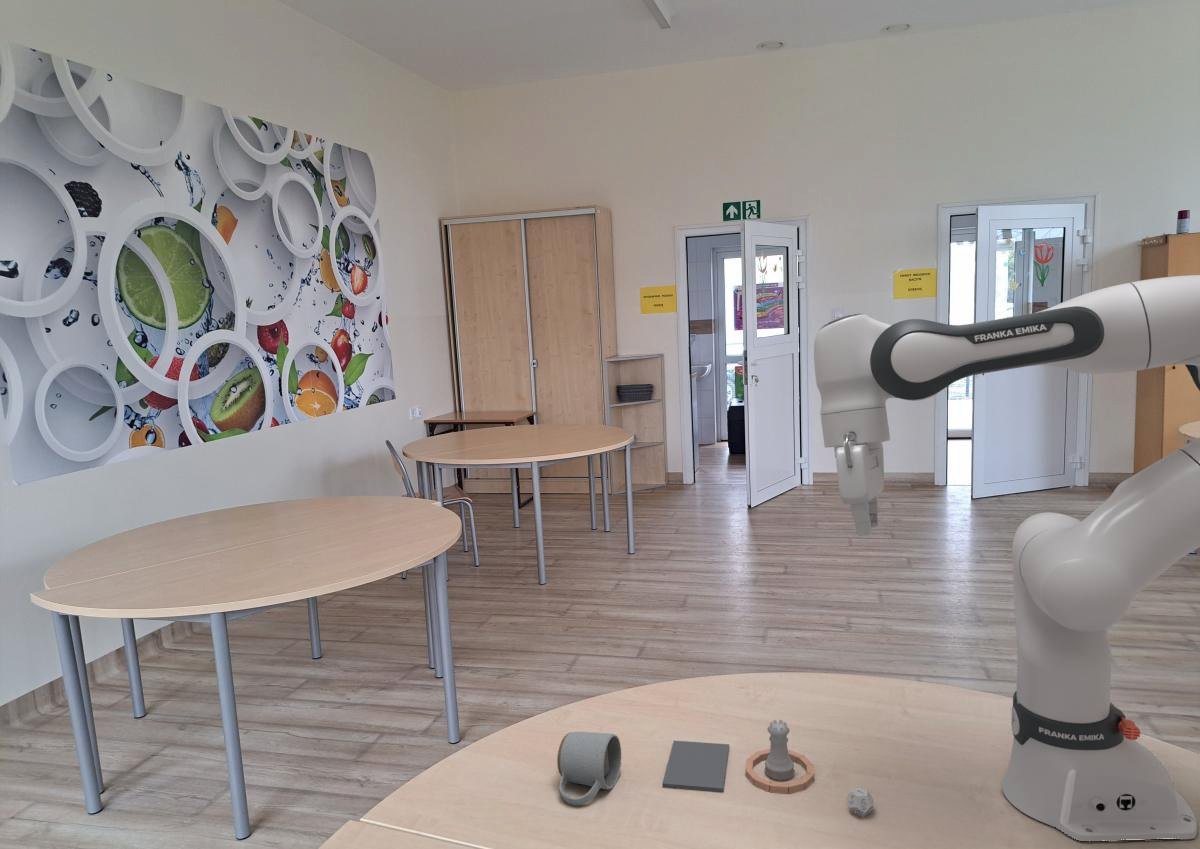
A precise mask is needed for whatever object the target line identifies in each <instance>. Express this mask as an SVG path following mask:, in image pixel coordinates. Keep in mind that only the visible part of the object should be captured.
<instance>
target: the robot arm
mask: <svg viewBox="0 0 1200 849" xmlns="http://www.w3.org/2000/svg"><path fill="white" fill-rule="evenodd" d="M817 331H818V332H817V333H816V334H815V337H814V342H813V362H814V374H815V383H816V387H817V389H818V391H819V395H820V399H821V405H820V412H819V413H820V422H821V428H822V437H823V445H824V448H828V449H829V448H833V450H834V458H835V460H836V462H835V463H836V472H837V481H838V490H839V491H838V492H839V498H840V501H841V503H842V505H850V511H851V515H852V518H853V522H854V524H855V531H856V535H857V536H859V537H864V536H866V537H867V536H870V535H871V533H872V528H876V527H878V526H879V524H880V521H879V499H878V498H879V497H878V495H880V494H881V493H882V492H883V491H884V487H885V465H884V446H883V443H884V442H887V441H891V434H890V428H889V421H888V414H887V407H886V402H887V400H888V399H901V400H905V401H912V402H913V401H915V402H916V401H924V400H927V399H930V398H932V397H934V396H936V395H937V394H939V393H940V392H941V391H943V390H945V389H946V388H948V387H949V386H951V385H952V384H954V383H955V382H957V381H959V380H962V379H965V378H969V377H972V376H976V375H983V374H988V373H996V372H1002V371H1007V370H1012V369H1013V370H1014V369H1020V368H1026V367H1035V366H1036V367H1037V366H1051V367H1052V366H1053V367H1060V368H1063V369H1067V370H1070V371H1072V372H1075V373H1078V374H1087V375H1089V374H1092V375H1093V374H1095V375H1097V374H1098V375H1102V374H1121V373H1122V374H1123V373H1130V372H1137V371H1142V370H1149V369H1156V368H1161V367H1165V366H1173V365H1174V366H1175V365H1184V367H1185V368H1186V370H1187V371H1188V372H1189V375H1190V376H1191V378H1192V381H1193V382H1194V384H1195V387H1196V388H1197V389H1198V390H1199V392H1200V274H1197V275H1196V274H1194V275H1193V274H1189V275H1188V274H1187V275H1175V276H1166V277H1165V276H1164V277H1157V278H1150V279H1143V280H1136V281H1132V282H1128V283H1127V282H1126V283H1125V282H1124V283H1121V284H1117V285H1113V286H1112V285H1111V286H1107V287H1105V288H1099V289H1097V290H1092V291H1090V292H1087V293H1084V294H1082V295H1081V294H1080V295H1078V296H1076V297H1073V298H1071V299H1068V300H1065V301H1063V302H1061V303H1058V304H1056V305H1053V306H1050V307H1049V308H1046V309H1042V310H1040V311H1036V312H1033V313H1027V314H1021V315H1016V316H1015V315H1014V316H1009V317H1004V318H998V319H992V320H986V321H979V322H974V323H969V324H948V323H947V324H946V323H942V322H938V321H933V320H928V319H920V318H911V319H905V320H902V321H898V322H896V323H894V324H889V323H885V322H883V321H880V320H878V319H875V318H872V317H871V316H869V315H868V314H865V313H854V314H849V315H845V316H842V317H839V318H837V319H834V320H830V322H828V323H826V324H824V325H823V326H821V328H819V330H817ZM1197 549H1200V437H1197V438H1196V439H1194V440H1191V441H1190V442H1188V443H1187V444H1184V445H1183V446H1181V447H1180V448H1178V449H1176V450H1174V451H1173V452H1170V453H1169V454H1167V455H1165V456H1164V457H1163V458H1160V459H1159V460H1157V461H1155V462H1154V463H1151V464H1150V465H1148V466H1147V467H1146V468H1144V469H1142V470H1140V471H1138V472H1137V473H1135V474H1134V475H1132V476H1130V477H1128V478H1127V479H1125V480H1124V481H1122V482H1120V483H1119V484H1118V485H1117V486H1116V487H1115V488H1114V491H1113V492H1112V493H1111V495H1110V496H1109V497H1108V498H1106V500H1105V501H1104V502H1103V503H1102V504H1100V506H1098V507H1097V508H1096V509H1095V510H1094V511H1092V512H1091V513H1090V514H1089V515H1088V516H1087V517H1086V518H1084V519H1083V520H1082V521H1081V520H1080V519H1078V518H1075V517H1072V516H1069V515H1067V514H1064V513H1058V512H1050V511H1049V512H1048V511H1047V512H1040V513H1039V512H1038V513H1036V514H1034V515H1031V516H1029V517H1027V518H1026V519H1025V520H1023V522H1021V524H1019V525H1018V527H1017V529H1016V531H1015V533H1014V536H1013V541H1012V548H1011V552H1012V553H1011V554H1012V555H1011V556H1012V557H1011V558H1012V586H1013V602H1014V604H1013V605H1014V616H1015V617H1014V618H1015V628H1016V629H1015V630H1016V691H1014V693H1013V694H1012V695H1013V696H1012V707H1011V732H1012V735H1013V741H1012V742H1013V743H1012V747H1011V754H1010V756H1009V757H1010V758H1009V762H1008V766H1007V769H1006V772H1005V775H1004V777H1003V780H1002V782H1001V787H1002V788H1001V790H1002V793H1003V794H1004V796H1005V798H1006V799H1007V800H1008V801H1009V803H1011V804H1012V805H1013V806H1014V807H1015V808H1016V809H1018V810H1019V811H1020V812H1022V813H1023V814H1025V815H1027V816H1029V817H1030V818H1032V819H1035V820H1037V821H1039V822H1042V823H1044V824H1047V825H1048V826H1051V827H1053V828H1055V827H1056V828H1055V829H1057V830H1059V831H1060V830H1061V831H1060V832H1062V833H1063V832H1064V833H1063V834H1064V835H1066V834H1068V835H1069V836H1071V837H1072V838H1071V837H1070V838H1071V839H1073V838H1074V839H1073V840H1075V839H1076V840H1075V841H1077V839H1078V840H1081V841H1089V842H1088V843H1091V842H1090V841H1102V840H1105V841H1106V840H1107V841H1109V840H1110V841H1109V842H1112V841H1111V840H1121V839H1122V840H1123V839H1124V840H1126V839H1157V838H1159V839H1160V838H1161V839H1162V838H1174V839H1175V838H1176V839H1178V838H1179V839H1180V840H1193V839H1195V838H1196V837H1197V835H1198V822H1197V819H1196V816H1195V814H1194V811H1193V809H1192V808H1191V807H1190V805H1189V803H1187V801H1186V800H1185V798H1184V797H1183V796H1182V795H1181V794H1180V793H1179V792H1178V791H1177V790H1176V789H1175V787H1174V784H1173V782H1172V778H1171V776H1170V774H1169V773H1168V771H1167V769H1166V767H1165V766H1164V764H1163V763H1162V762H1161V760H1159V759H1158V757H1157V756H1156V755H1155V754H1154V753H1153V752H1151V751H1150V749H1148V748H1147V747H1145V746H1144V745H1142V744H1141V743H1139V742H1138V741H1137V740H1138V739H1139V738H1140V737H1141V734H1142V733H1141V730H1140V729H1139V727H1138V726H1137V725H1136V723H1135V722H1134V721H1133V720H1130V719H1127V718H1126V715H1125V714H1124V712H1123V711H1122V710H1121V709H1119V708H1118V707H1116V705H1114V704H1113V703H1112V702H1111V682H1112V680H1111V678H1112V650H1111V646H1110V640H1109V635H1108V628H1110V627H1112V626H1114V625H1116V624H1117V623H1119V621H1121V620H1122V618H1124V616H1125V615H1126V613H1127V611H1128V609H1129V606H1130V605H1131V603H1132V601H1133V600H1134V599H1135V598H1136V597H1137V596H1138V595H1139V594H1140V593H1141V592H1142V591H1144V590H1145V589H1146V588H1147V587H1148V586H1149V585H1151V583H1153V582H1154V581H1156V579H1157V578H1158V577H1160V576H1161V575H1162V574H1163V573H1164V572H1166V571H1167V570H1168V569H1169V568H1170V567H1171V566H1173V565H1175V564H1176V563H1177V562H1179V561H1180V560H1181V559H1182V558H1184V557H1186V556H1187V555H1189V554H1190V553H1192V552H1194V551H1195V550H1197ZM1068 835H1067V836H1068ZM1069 836H1068V837H1069ZM1181 838H1182V839H1181Z"/></svg>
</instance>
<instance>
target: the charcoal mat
mask: <svg viewBox="0 0 1200 849" xmlns="http://www.w3.org/2000/svg"><path fill="white" fill-rule="evenodd" d="M729 752H730V744H727V743H714V742H703V741H702V742H700V741H697V742H696V741H688V740H687V741H685V740H673V743H672V744H671V750H670V754H669V756H668V757H669V758H668V761H667V763H666V768H665V772H664V777H663V778H662V779H663V780H662V783H661V784H662V788H669V789H679V790H680V789H681V790H691V791H704V792H715V793H716V792H717V793H724V789H725V783H726V776H727V768H728V760H729Z"/></svg>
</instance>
